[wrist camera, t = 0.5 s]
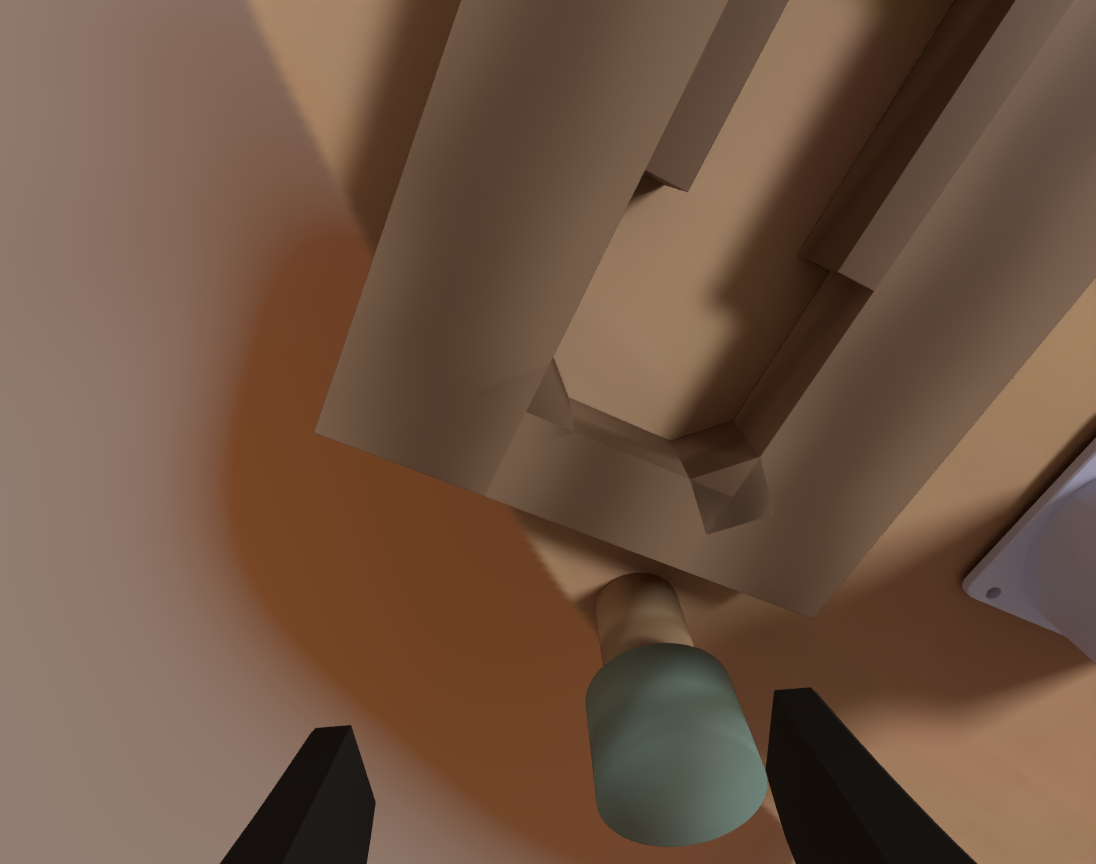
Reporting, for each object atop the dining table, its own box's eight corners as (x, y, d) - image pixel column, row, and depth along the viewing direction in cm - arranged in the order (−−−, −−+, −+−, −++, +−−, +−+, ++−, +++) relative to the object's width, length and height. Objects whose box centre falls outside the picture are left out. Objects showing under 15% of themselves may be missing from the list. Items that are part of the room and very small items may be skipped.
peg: (720, 581, 22) (801, 763, 15) (658, 665, 23) (709, 861, 17) (610, 539, 21) (648, 715, 14) (555, 631, 22) (567, 824, 16)
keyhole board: (1362, -180, 13) (1528, -244, 11) (783, 570, 21) (812, 619, 19) (744, -760, 10) (806, -1017, 8) (339, 397, 18) (314, 432, 16)
